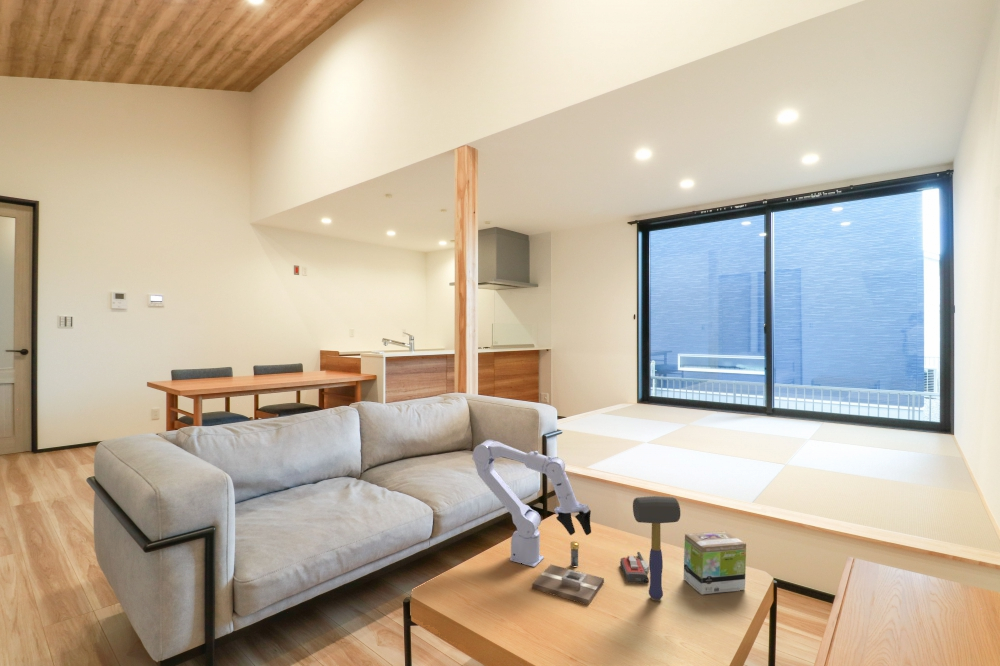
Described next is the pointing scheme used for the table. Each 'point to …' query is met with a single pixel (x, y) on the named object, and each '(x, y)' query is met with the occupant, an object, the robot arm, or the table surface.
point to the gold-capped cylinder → (574, 553)
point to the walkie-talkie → (635, 569)
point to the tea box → (714, 562)
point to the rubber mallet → (656, 533)
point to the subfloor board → (553, 584)
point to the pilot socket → (575, 575)
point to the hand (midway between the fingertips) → (580, 533)
